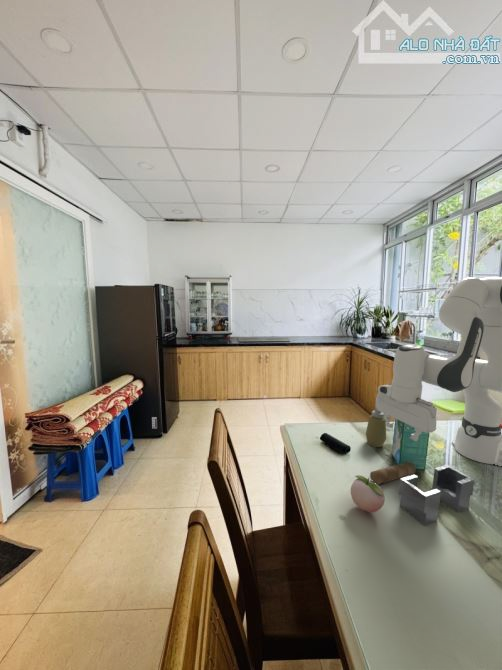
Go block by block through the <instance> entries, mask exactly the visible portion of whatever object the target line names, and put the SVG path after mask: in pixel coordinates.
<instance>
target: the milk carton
mask: <svg viewBox="0 0 502 670" xmlns="http://www.w3.org/2000/svg"><path fill="white" fill-rule="evenodd" d="M393 427H394V428H393V437H392V446H391V454H392V455H391V456H393V458H394V460H395V462H396V463H397V464H396V465H398V464H402V463H405V462H411V463H412V464H413V465H414V466H415V469H416V470H417V469H418V470H425V471H426V465H427V456H428V448H429V438H430V433H425V432H422V433H421V434H420V435H419V438H418V441H414V440H412V439H410V437H411V434H413V433H415V432H416V431H415V430H414V429H415V428H414V427H412V426H410V425H408V424H406V423H404V422H402V421H400V420H398V419H395V418H394V423H393Z"/></svg>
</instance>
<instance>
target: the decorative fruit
mask: <svg viewBox="0 0 502 670" xmlns="http://www.w3.org/2000/svg"><path fill="white" fill-rule="evenodd" d="M354 477H355V478H356V479H355V480H354V481H353V482H352V484H351V485H350V495H351V499H352V501H353V503H354V504H355V505H356V507H358V508H359V509H361V510H362V511H365V512H368V513H376V512H378V511H380V510H381V509H382V508H383V506H384V505H385V501H386V500H385V499H386V498H385V494H384V491H383V489H382V488H381V486H379V484H378V485H377V484H375V483H374V482H373V481H370V478H369V477H368V478H367V477H366V476H363V475H359V474H358V475H355V476H354Z"/></svg>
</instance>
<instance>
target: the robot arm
mask: <svg viewBox="0 0 502 670" xmlns="http://www.w3.org/2000/svg"><path fill="white" fill-rule="evenodd" d="M438 317H439V319H440V322H441V323H442V324H443V325H444V326H445V327H446V328H447V329H449V330H450V331H453V332H454V333H457V334H459V335H461V339H460V342H459V345H458V347H457V351H456V354H455V355H454V356H451V357H446V356H439V355H435V354H432V353H430V352H427V351H426V350H425V347H424V346H423V345H421V344H416V343H406V344H401V345H399V346H398V347H397V349H396V351H395V354H394V359H393V365H392V374H393V377H392V379H391V383H389V384H383V385H379V386H378V387H377V391H378V392H377V394H376V398H375V409H376V408H377V410H379V411H381V412H383V413H384V418H385V420H386V428H389V429H392V428H393V427H394V422H393V421H392V418H393V419H394V420H395V419H398V420H400V421H402V422H404V423H406V424H408V425H410V426H412V427H414V428H415V429H414V430H415V431H416V432H415V433H413V434H411V437H410V439H412V440H414V441H418V438H419V435H420V434H421V433H422V432H425V433H429V434H430V433H433V432H435V431H436V430H437V408H436V406H435V405H434V404H433V403H432V402H430V401H427V400H424V399H422V392H423V383H425V384H430V385H433V386H436V387H439V388H441V389H444V390H446V391H449V392H452V393H457V392H460V391H463V395H464V400H465V401H464V412H463V413H464V415H463V416H462V419H461V426H459V427H458V428H457V431H456V436H455V439H454V440H452V441H451V444H452V445H453V447H454V450H455V451H456V452H457V453H458V454H460V455H461V456H463V457H465V458H467V459H469V460H473V461H474V462H479V463H481V464H482V463H483V464H488V465H493V464H495V466H497V465H498V466H497V467H501V466H502V423H501V416H502V406H501V403H500V402H499V401H498V400H497V399H495V398H494V397H493V396H492V395H491V394H490V392H489V390H491V391H495V392H498V393H502V276H488V277H483V278H482V277H480V278H478V277H466V278H463V279H461V280H459V281H458V282H457V283H455V285H454V286H453V287H452V289H451V290H450V292H449V293H448V294H447V296H446V297H445V299H444V301H443V302H442V304H441V305H440V309H439V312H438ZM479 350H480V351H482V352H484V354H485V355H486V358H487V359H486V360H485V359H481V358H477V356H478V354H479ZM393 429H394V428H393Z"/></svg>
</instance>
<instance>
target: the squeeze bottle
mask: <svg viewBox="0 0 502 670" xmlns="http://www.w3.org/2000/svg"><path fill="white" fill-rule="evenodd" d="M365 436H366V440H367V443H368V445H370V446H371V447H375V448H381V447H383V446H384V444H385V442H386V440H387V426H386V420H385V417H384V413H383V412H381V411H379V410H377V408H376V407H375V410H372V411H371V414H370V415H369V416H368V422H367V426H366V432H365Z"/></svg>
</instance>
